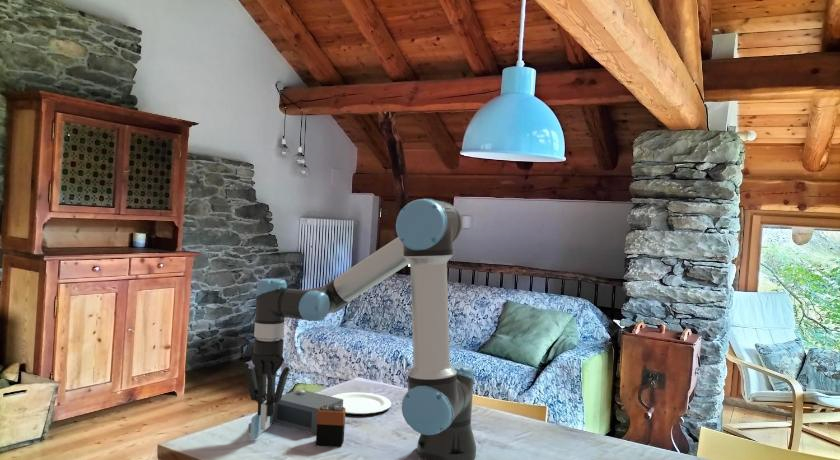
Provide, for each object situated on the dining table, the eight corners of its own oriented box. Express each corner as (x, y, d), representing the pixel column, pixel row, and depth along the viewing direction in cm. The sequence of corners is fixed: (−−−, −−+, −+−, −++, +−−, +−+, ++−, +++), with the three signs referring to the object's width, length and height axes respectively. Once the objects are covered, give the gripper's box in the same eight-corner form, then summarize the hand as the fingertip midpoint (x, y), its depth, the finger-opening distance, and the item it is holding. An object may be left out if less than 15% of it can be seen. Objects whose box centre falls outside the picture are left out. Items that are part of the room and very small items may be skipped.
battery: (341, 447, 153) (343, 408, 153) (315, 446, 153) (317, 407, 153) (344, 441, 157) (345, 403, 157) (318, 439, 157) (320, 402, 157)
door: (253, 442, 153) (255, 417, 152) (247, 441, 153) (248, 416, 153) (274, 422, 167) (275, 399, 167) (268, 421, 168) (269, 399, 168)
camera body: (348, 425, 169) (349, 397, 169) (324, 436, 160) (326, 407, 160) (297, 412, 178) (299, 386, 178) (272, 422, 168) (274, 395, 168)
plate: (320, 398, 194) (320, 393, 194) (382, 395, 200) (382, 390, 200) (330, 420, 174) (330, 414, 174) (398, 416, 180) (399, 411, 180)
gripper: (297, 337, 158) (293, 425, 158) (252, 333, 160) (248, 420, 161) (286, 343, 151) (282, 435, 151) (239, 338, 153) (234, 429, 153)
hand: (264, 427), depth 156 cm, fingers closed
